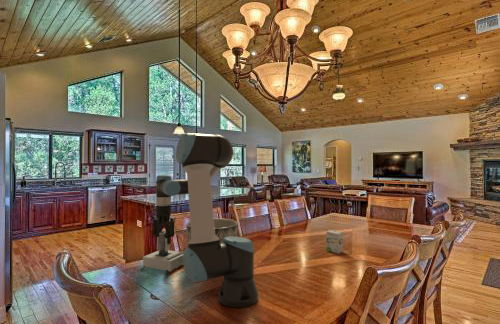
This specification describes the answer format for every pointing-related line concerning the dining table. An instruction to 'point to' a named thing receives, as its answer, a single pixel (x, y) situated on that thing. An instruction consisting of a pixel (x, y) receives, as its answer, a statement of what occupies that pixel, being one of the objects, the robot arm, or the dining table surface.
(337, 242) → the ink box
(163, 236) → the metal cylinder
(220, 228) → the planter
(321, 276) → the dining table surface
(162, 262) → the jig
